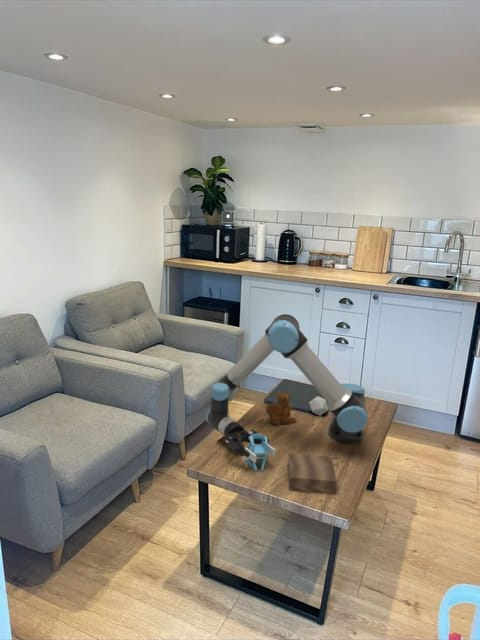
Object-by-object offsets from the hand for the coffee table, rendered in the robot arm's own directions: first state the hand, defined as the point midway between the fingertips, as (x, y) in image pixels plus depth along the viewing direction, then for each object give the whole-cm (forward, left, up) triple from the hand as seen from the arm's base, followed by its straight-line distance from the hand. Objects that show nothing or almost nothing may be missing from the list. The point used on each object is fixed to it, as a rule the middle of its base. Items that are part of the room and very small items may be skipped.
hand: (265, 455), depth 172 cm
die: (-25, -54, -7) cm, 60 cm away
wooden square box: (-17, +2, -7) cm, 18 cm away
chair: (+3, -4, -7) cm, 8 cm away
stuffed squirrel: (-6, -42, -7) cm, 43 cm away
